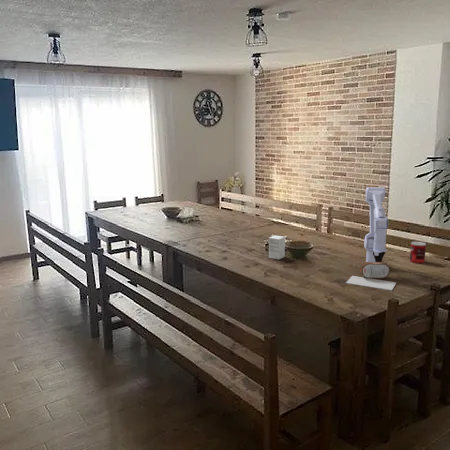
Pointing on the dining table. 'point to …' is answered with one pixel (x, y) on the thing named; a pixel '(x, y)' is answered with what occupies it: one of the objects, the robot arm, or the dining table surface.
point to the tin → (375, 270)
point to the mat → (371, 283)
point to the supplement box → (276, 247)
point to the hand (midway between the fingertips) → (378, 265)
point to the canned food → (417, 252)
